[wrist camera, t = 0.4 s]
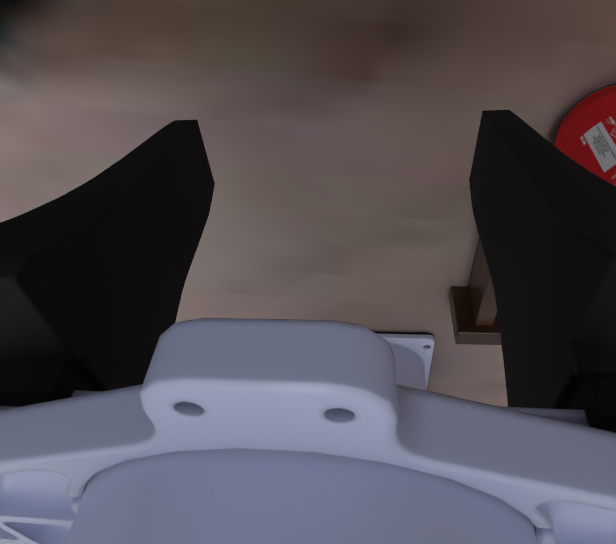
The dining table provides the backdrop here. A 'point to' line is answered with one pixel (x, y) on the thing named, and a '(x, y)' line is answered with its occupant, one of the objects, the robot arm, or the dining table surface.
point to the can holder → (476, 307)
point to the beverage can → (592, 133)
